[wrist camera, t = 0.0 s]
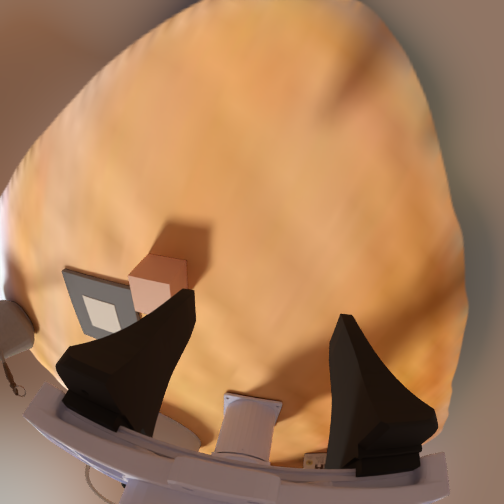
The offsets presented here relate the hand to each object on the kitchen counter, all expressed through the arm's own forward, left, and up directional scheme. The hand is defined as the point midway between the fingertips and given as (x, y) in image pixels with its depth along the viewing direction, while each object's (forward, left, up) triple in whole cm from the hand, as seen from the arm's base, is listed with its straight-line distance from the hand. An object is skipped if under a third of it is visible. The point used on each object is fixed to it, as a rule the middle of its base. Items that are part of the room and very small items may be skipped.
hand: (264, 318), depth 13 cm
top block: (-6, +10, -10) cm, 15 cm away
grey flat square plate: (-14, +20, -10) cm, 26 cm away
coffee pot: (-24, +42, -10) cm, 49 cm away
